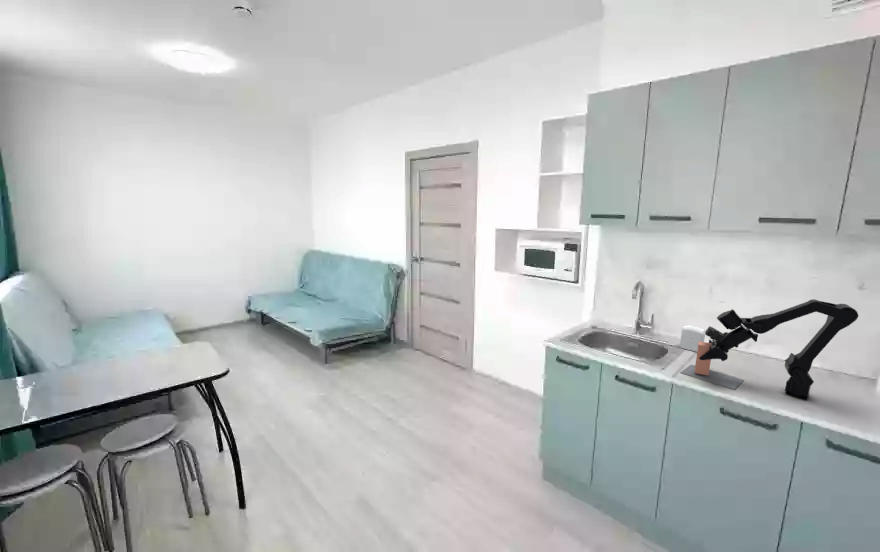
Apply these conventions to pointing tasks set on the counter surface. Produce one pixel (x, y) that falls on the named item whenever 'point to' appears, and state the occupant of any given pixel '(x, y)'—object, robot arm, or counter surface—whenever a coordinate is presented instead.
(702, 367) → the card box
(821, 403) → the counter surface
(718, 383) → the mat
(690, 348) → the photo printer
